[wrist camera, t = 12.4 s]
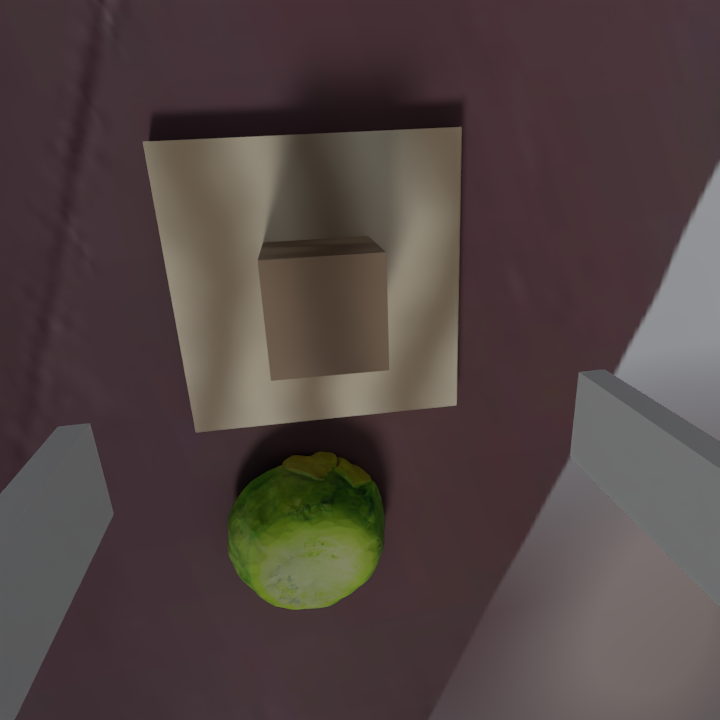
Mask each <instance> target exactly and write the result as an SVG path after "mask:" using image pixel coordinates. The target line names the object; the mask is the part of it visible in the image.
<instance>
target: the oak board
mask: <svg viewBox="0 0 720 720" xmlns="http://www.w3.org/2000/svg"><path fill="white" fill-rule="evenodd" d="M461 143H462V127H448V128H427V129H405V130H384V131H362V132H341V133H319V134H298V135H276V136H255V137H233V138H212V139H190V140H169V141H147V142H143V146H144V152H145V157H146V163H147V168H148V173H149V179H150V184H151V190H152V195H153V201H154V206H155V212H156V217H157V223H158V228H159V234H160V239H161V245H162V250H163V256H164V261H165V267H166V272H167V277H168V283H169V288H170V294H171V299H172V305H173V310H174V316H175V321H176V327H177V332H178V338H179V343H180V349H181V354H182V360H183V365H184V371H185V376H186V381H187V387H188V392H189V398H190V403H191V409H192V414H193V420H194V425H195V431H196V432H205V431H214V430H224V429H234V428H243V427H253V426H262V425H272V424H282V423H291V422H301V421H310V420H320V419H330V418H339V417H349V416H358V415H368V414H378V413H387V412H397V411H406V410H416V409H426V408H435V407H445V406H454V405H457V354H458V301H459V249H460V196H461ZM360 236H368V237H370V238H371V239H372V240H373V241H374V242H375V243H376V244H378V245H379V246H380V247H381V248H382V249H383V250H384V251H386V257H387V298H388V338H389V370H387V371H375V372H364V373H353V374H342V375H331V376H320V377H309V378H298V379H286V380H275V381H271V376H270V367H269V359H268V350H267V341H266V332H265V323H264V314H263V305H262V297H261V288H260V279H259V270H258V261H257V260H258V257H259V254H260V251H261V247H262V244H263V242H279V241H295V240H311V239H328V238H344V237H360Z"/></svg>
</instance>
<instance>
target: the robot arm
mask: <svg viewBox="0 0 720 720" xmlns="http://www.w3.org/2000/svg"><path fill="white" fill-rule="evenodd" d="M570 458H571V459H572V460H573V461H574V462H575V463H576V464H577V465H578V466H579V467H580V468H581V469H582V470H583V471H584V472H585V473H586V474H587V475H588V476H589V477H590V478H591V479H592V480H593V481H594V482H595V483H596V484H597V485H598V486H599V487H600V488H601V489H602V490H603V491H604V492H605V493H606V494H607V495H608V496H609V497H610V498H611V499H612V500H613V501H614V502H615V503H616V504H617V505H618V506H619V507H620V508H621V509H622V510H623V511H624V512H625V513H626V514H627V515H628V516H629V517H630V518H631V519H632V520H633V521H634V522H635V523H636V524H637V525H638V526H639V527H640V528H641V529H642V530H643V531H644V532H645V533H646V534H647V535H648V536H649V537H650V538H651V539H652V540H653V541H654V542H655V543H656V544H657V545H658V546H659V547H660V548H661V549H662V550H663V551H664V552H665V553H666V554H667V555H668V556H669V557H670V558H671V559H672V560H673V561H674V562H675V563H676V564H677V565H678V566H679V567H680V568H681V569H682V570H683V571H684V572H685V573H686V574H687V575H688V576H689V577H690V578H691V579H692V580H693V581H694V582H695V583H696V584H697V585H698V586H699V587H700V588H701V589H702V590H703V591H704V592H705V593H706V594H707V595H708V596H709V597H710V598H711V599H712V600H713V601H714V602H715V603H716V604H717V605H718V606H719V607H720V441H718V440H717V439H715V438H713V437H712V436H710V435H708V434H707V433H705V432H704V431H702V430H700V429H699V428H697V427H696V426H694V425H693V424H691V423H689V422H688V421H686V420H685V419H683V418H681V417H680V416H678V415H677V414H675V413H673V412H672V411H670V410H668V409H667V408H665V407H664V406H662V405H661V404H659V403H657V402H655V401H654V400H653V399H651V398H649V397H648V396H646V395H645V394H643V393H641V392H640V391H638V390H637V389H635V388H633V387H632V386H630V385H628V384H627V383H625V382H624V381H622V380H621V379H619V378H617V377H616V376H614V375H613V374H611V373H609V372H608V371H606V370H605V369H604V370H594V371H585V372H579V377H578V386H577V395H576V404H575V414H574V423H573V432H572V442H571V451H570ZM113 514H114V513H113V509H112V506H111V502H110V498H109V494H108V490H107V486H106V483H105V479H104V475H103V471H102V467H101V463H100V460H99V456H98V452H97V448H96V444H95V441H94V437H93V433H92V429H91V425H90V423H89V424H79V425H70V426H60V427H57V428H56V430H55V431H54V432H53V433H52V434H51V435H50V437H49V438H48V439H47V440H46V441H45V442H44V444H43V445H42V446H41V447H40V448H39V449H38V451H37V452H36V453H35V454H34V455H33V456H32V458H31V459H30V460H29V461H28V462H27V463H26V465H25V466H24V467H23V468H22V469H21V470H20V472H19V473H18V474H17V475H16V476H15V477H14V479H13V480H12V481H11V482H10V483H9V484H8V486H7V487H6V488H5V489H4V490H3V491H2V493H1V494H0V720H15V718H16V716H17V714H18V712H19V710H20V707H21V705H22V703H23V701H24V699H25V697H26V695H27V693H28V691H29V689H30V687H31V685H32V683H33V680H34V678H35V676H36V674H37V672H38V670H39V668H40V666H41V664H42V662H43V660H44V658H45V656H46V653H47V651H48V649H49V647H50V645H51V643H52V641H53V639H54V637H55V635H56V633H57V631H58V629H59V626H60V624H61V622H62V620H63V618H64V616H65V614H66V612H67V610H68V608H69V606H70V604H71V602H72V599H73V597H74V595H75V593H76V591H77V589H78V587H79V585H80V583H81V581H82V579H83V577H84V575H85V572H86V570H87V568H88V566H89V564H90V562H91V560H92V558H93V556H94V554H95V552H96V550H97V548H98V546H99V543H100V541H101V539H102V537H103V535H104V533H105V531H106V529H107V527H108V525H109V523H110V521H111V519H112V516H113Z"/></svg>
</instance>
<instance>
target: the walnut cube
mask: <svg viewBox="0 0 720 720" xmlns="http://www.w3.org/2000/svg"><path fill="white" fill-rule="evenodd" d="M257 261H258V270H259V279H260V288H261V297H262V305H263V314H264V323H265V332H266V341H267V350H268V359H269V367H270V376H271V381H275V380H286V379H298V378H309V377H320V376H331V375H342V374H353V373H364V372H375V371H387V370H389V338H388V298H387V257H386V251H384V250H383V249H382V248H381V247H380V246H379V245H378V244H376V243H375V242H374V241H373V240H372V239H371V238H370V237H368V236H360V237H344V238H328V239H311V240H295V241H279V242H263V244H262V247H261V251H260V254H259V257H258V260H257Z"/></svg>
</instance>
